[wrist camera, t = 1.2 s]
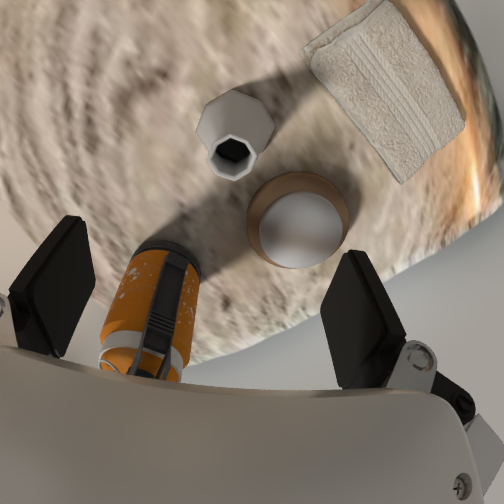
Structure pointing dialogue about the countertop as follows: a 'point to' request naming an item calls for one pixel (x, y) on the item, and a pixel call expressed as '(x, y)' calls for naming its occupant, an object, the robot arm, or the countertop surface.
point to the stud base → (285, 187)
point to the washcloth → (386, 86)
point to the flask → (234, 133)
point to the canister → (152, 314)
